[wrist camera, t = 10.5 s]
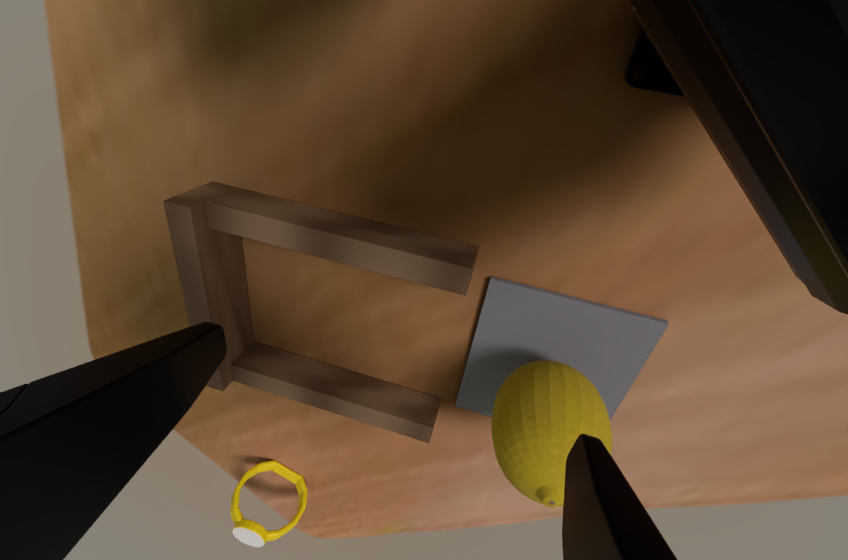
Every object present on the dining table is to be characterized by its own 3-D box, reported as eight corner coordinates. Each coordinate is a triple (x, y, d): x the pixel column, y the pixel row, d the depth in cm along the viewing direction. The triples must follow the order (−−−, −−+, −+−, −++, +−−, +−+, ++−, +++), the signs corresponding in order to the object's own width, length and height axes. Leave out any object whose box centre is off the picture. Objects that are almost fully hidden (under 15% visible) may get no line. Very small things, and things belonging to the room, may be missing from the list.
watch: (320, 476, 35) (289, 549, 30) (310, 489, 37) (279, 559, 32) (259, 447, 35) (218, 516, 30) (252, 461, 36) (211, 529, 31)
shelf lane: (478, 246, 20) (468, 279, 17) (437, 413, 27) (425, 456, 24) (212, 181, 22) (163, 200, 19) (236, 351, 29) (203, 384, 26)
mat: (666, 320, 20) (668, 324, 19) (592, 443, 25) (593, 447, 25) (490, 276, 21) (490, 278, 21) (455, 402, 26) (454, 405, 26)
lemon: (607, 399, 23) (638, 546, 16) (513, 408, 25) (504, 541, 18) (587, 322, 20) (613, 454, 14) (486, 339, 23) (464, 460, 16)
